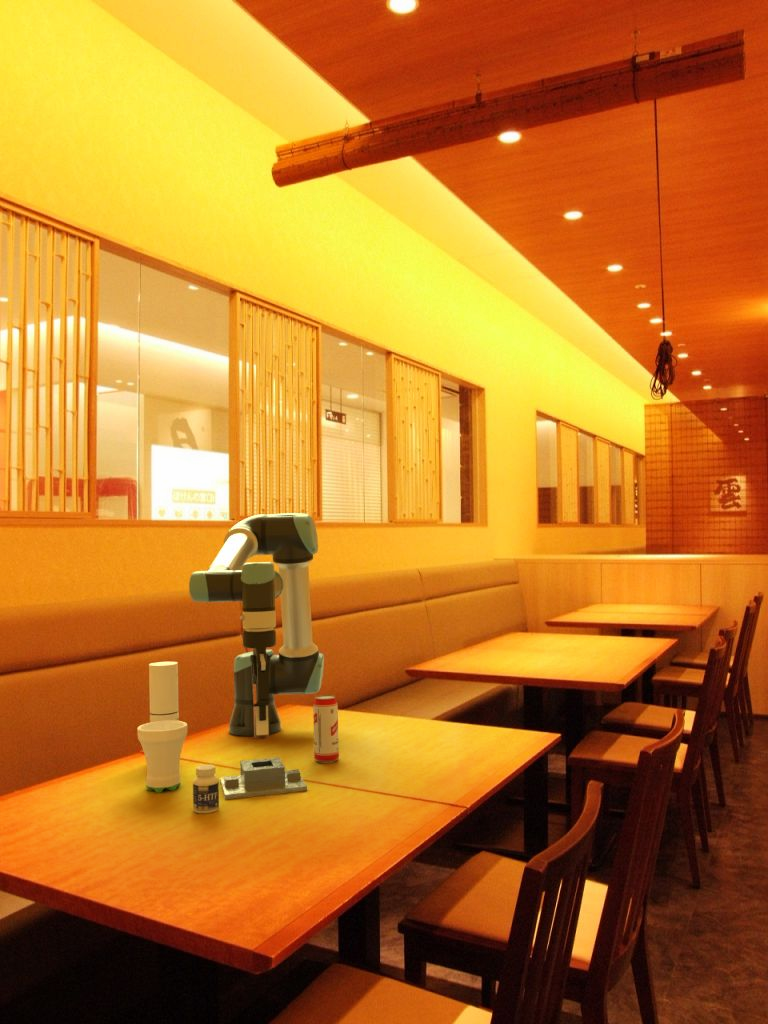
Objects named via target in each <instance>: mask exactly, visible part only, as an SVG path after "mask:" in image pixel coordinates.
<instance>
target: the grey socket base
mask: <svg viewBox="0 0 768 1024" xmlns="http://www.w3.org/2000/svg"><path fill="white" fill-rule="evenodd" d="M239 763H240V764H239V765H240V768H239V769H240V775H228V776H223V777H219V784H220V786H222V787H221V789H222V792H223V797H224V800H234V799H242V798H251V797H260V796H270V795H278V794H279V795H280V794H288V793H296V792H297V793H299V792H306V791H308V785H307V783H306V782H305V780H304V779H303V778H302V775H301V772H300V770H299V769H289V770H288V769H287V770H286V767H285V765H284V763H283V762H282V760H281V758H280V757H279V756H278V757H271V758H270V757H269V758H260V759H248V760H240V762H239Z"/></svg>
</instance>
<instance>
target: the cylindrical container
mask: <svg viewBox="0 0 768 1024" xmlns="http://www.w3.org/2000/svg"><path fill="white" fill-rule="evenodd" d="M178 663H179V662H178V661H159V662H151V663H149V664H148V676H149V677H148V678H149V680H148V681H149V682H148V685H149V686H148V687H149V723H151V722H157V721H180V720H179V719H180V718H179V716H180V715H179V710H180V709H179V672H178V671H179V669H178V668H179V666H178V665H179V664H178Z"/></svg>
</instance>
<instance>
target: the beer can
mask: <svg viewBox="0 0 768 1024" xmlns="http://www.w3.org/2000/svg"><path fill="white" fill-rule="evenodd" d="M338 707H339V706H338V701H337V699H336V696H335V694H334V695H333V694H322V695H321V694H320V695H316V696H315V697H314V701H313V705H312V709H313V711H312V712H313V715H312V716H313V717H312V718H313V751H314V752H313V754H314V755H313V756H314V760H315V761H316V762H317V763H321V764H331V763H335V762H336V761H338V759H339V758H340V751H339V750H340V747H339V712H338V711H339V710H338V709H339V708H338Z"/></svg>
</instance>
